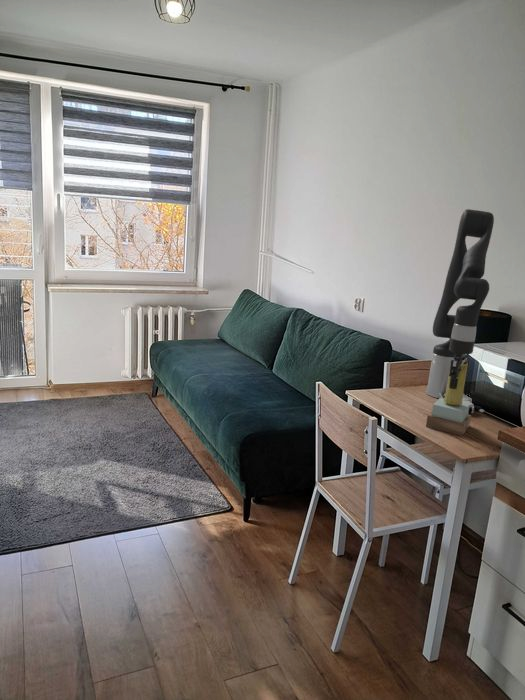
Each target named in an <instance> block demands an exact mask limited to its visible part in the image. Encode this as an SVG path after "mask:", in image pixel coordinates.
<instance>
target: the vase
mask: <svg viewBox="0 0 525 700" xmlns="http://www.w3.org/2000/svg"><path fill="white" fill-rule="evenodd" d="M461 365H462V364H461ZM461 365H460V366H461ZM468 365H469V363H468V362H467V361H466V363H465V364H463V365H462V371H461V372H460V373H459V378H458V381H457V387H456V389H451V388H449V385H450V379H451V377H450V376H449V378H448V383H447V388H446V393H445V397H444V402H446V403H448V404H452V405H461V404H462V399H463V394H464V390H465V384H466V377H467V371H468ZM460 366H459V369H460ZM449 374H450V373H449ZM453 374H456V371H454V372H453Z"/></svg>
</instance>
